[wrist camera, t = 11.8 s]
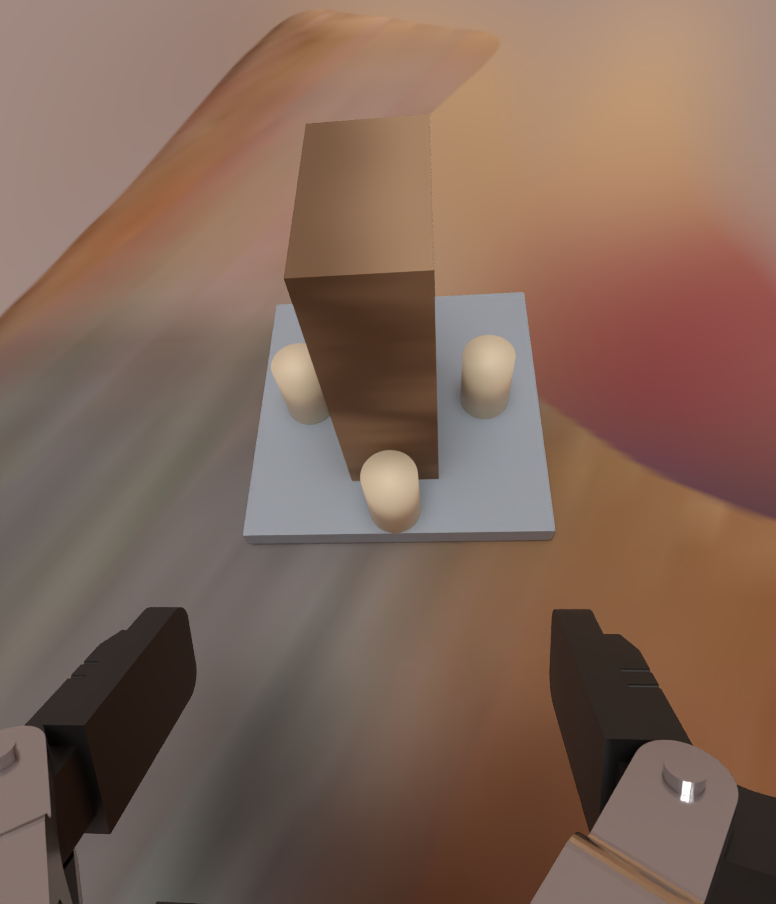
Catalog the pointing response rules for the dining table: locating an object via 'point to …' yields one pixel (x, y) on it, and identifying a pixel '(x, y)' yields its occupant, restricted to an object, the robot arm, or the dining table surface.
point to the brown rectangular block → (369, 284)
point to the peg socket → (394, 473)
